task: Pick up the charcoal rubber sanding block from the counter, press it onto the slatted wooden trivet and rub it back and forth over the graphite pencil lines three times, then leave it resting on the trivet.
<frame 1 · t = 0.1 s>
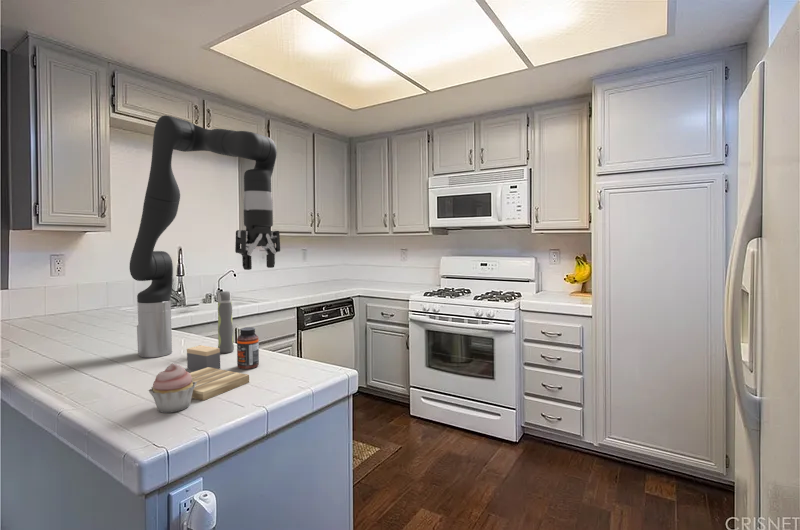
hand: (259, 268, 116), 29 cm above the countertop, tool pointing down, fingers open, 8 cm apart
grey water bottle: (226, 352, 140), on the countertop
slatted wooden trivet: (206, 386, 107), on the countertop
sanding block: (203, 369, 122), on the countertop
cupcake: (173, 408, 93), on the countertop
supplement bottle: (248, 367, 124), on the countertop
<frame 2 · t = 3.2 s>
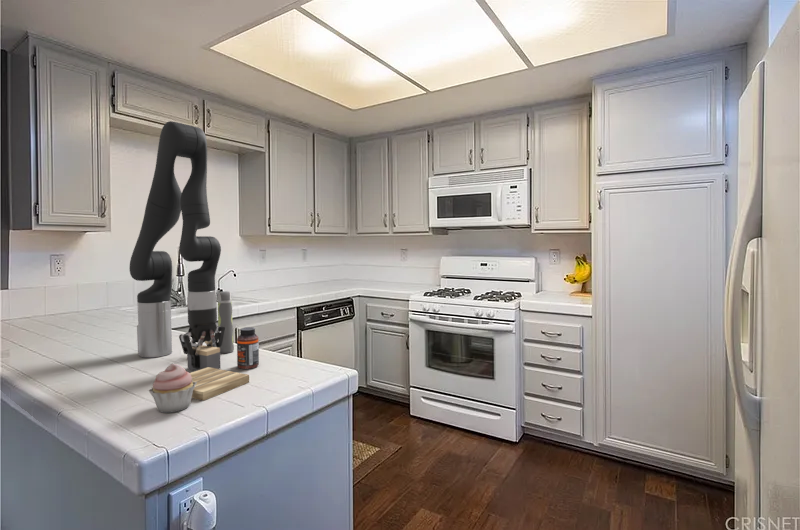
hand: (203, 365, 122), 1 cm above the countertop, tool pointing down, fingers closed on sanding block, 4 cm apart
sanding block: (204, 368, 122), on the countertop, touching gripper
everything else where it was.
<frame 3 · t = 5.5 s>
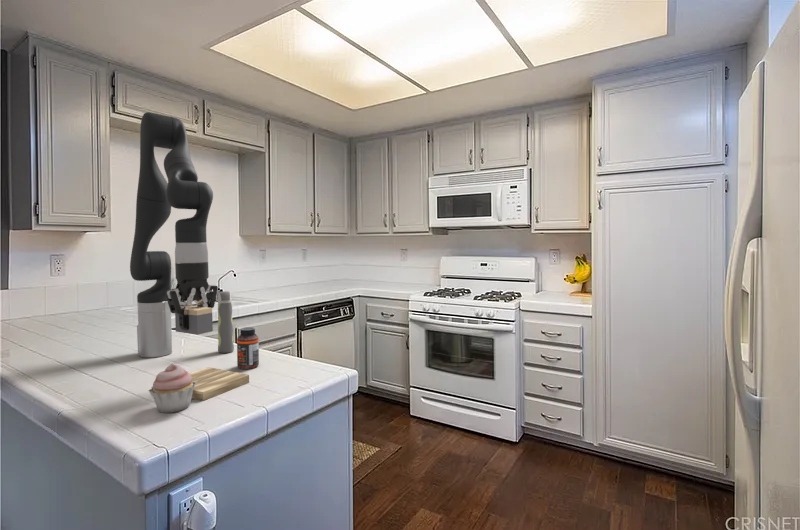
hand: (193, 327, 108), 15 cm above the countertop, tool pointing down, fingers closed on sanding block, 4 cm apart
sanding block: (194, 331, 108), point 14 cm above the countertop, touching gripper
everything else where it was.
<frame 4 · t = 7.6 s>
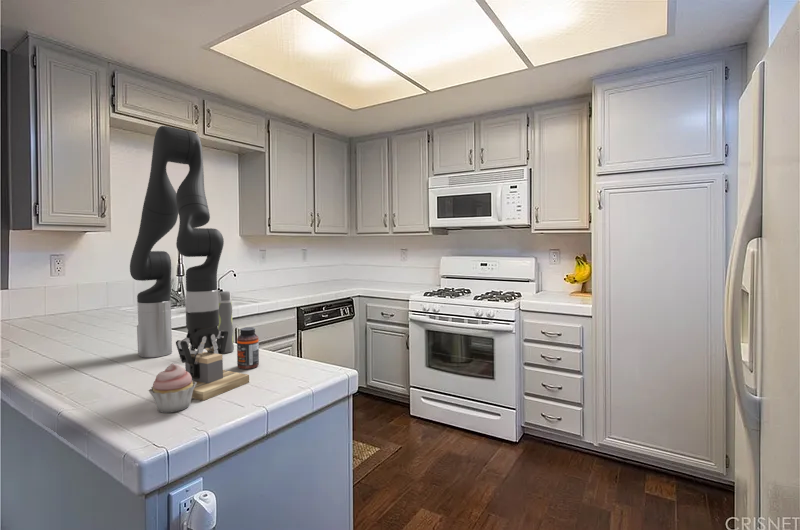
hand: (204, 375, 107), 3 cm above the countertop, tool pointing down, fingers closed on sanding block, 4 cm apart
sanding block: (204, 378, 107), point 2 cm above the countertop, touching gripper
everything else where it was.
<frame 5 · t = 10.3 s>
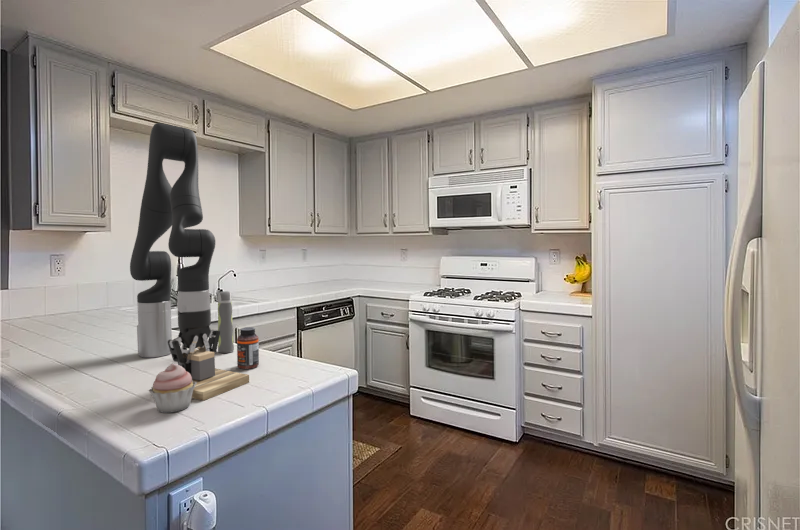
hand: (196, 373, 108), 3 cm above the countertop, tool pointing down, fingers closed on sanding block, 4 cm apart
sanding block: (196, 375, 108), point 2 cm above the countertop, touching gripper
everything else where it was.
when the fingers open (4 cm above the countertop, at t = 12.3 s): sanding block drops 1 cm, resting on slatted wooden trivet.
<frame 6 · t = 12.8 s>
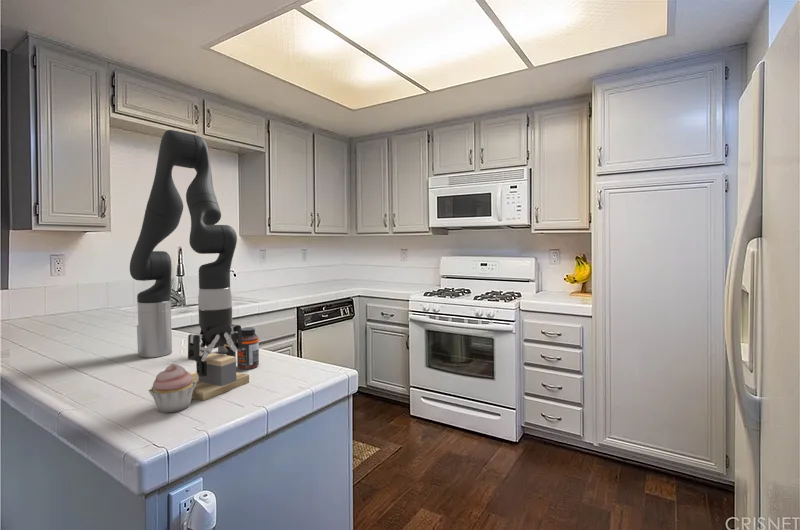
hand: (217, 371, 105), 4 cm above the countertop, tool pointing down, fingers open, 8 cm apart
sanding block: (217, 380, 105), point 2 cm above the countertop, touching slatted wooden trivet
everything else where it was.
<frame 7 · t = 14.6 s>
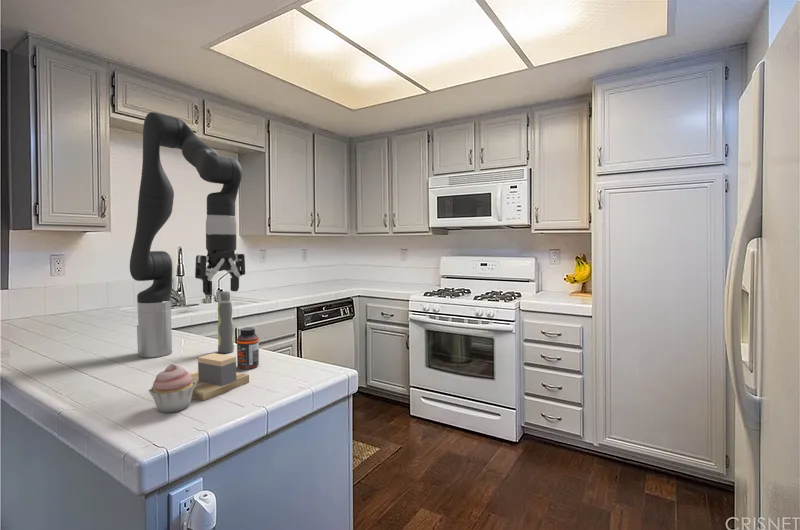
hand: (221, 293, 114), 23 cm above the countertop, tool pointing down, fingers open, 8 cm apart
nothing on the countertop moved.
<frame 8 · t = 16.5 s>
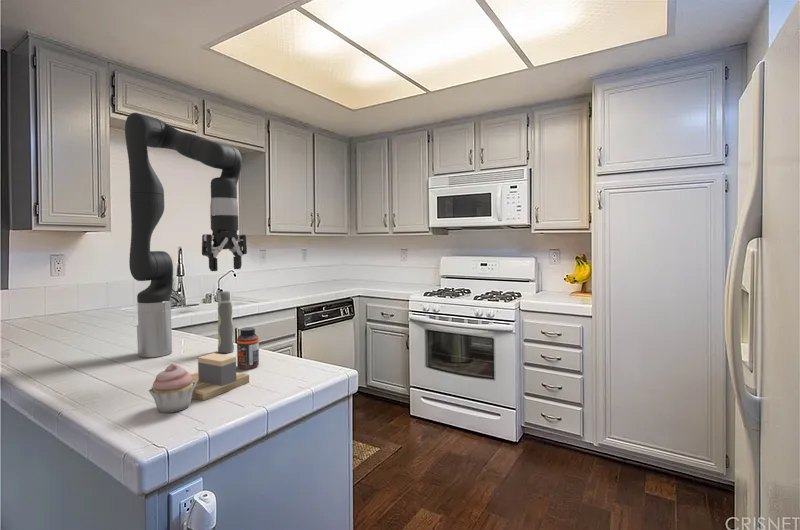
hand: (225, 270, 124), 28 cm above the countertop, tool pointing down, fingers open, 8 cm apart
nothing on the countertop moved.
at the end: sanding block inside the target area (4.1 cm from its centre), point 2.0 cm above the countertop; the gripper is holding nothing; sanding block tilted 0° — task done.
